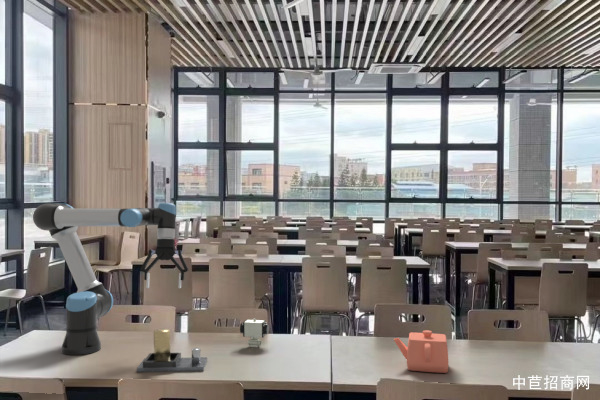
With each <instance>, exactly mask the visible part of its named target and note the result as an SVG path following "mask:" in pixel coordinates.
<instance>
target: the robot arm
mask: <svg viewBox="0 0 600 400" xmlns="http://www.w3.org/2000/svg"><path fill="white" fill-rule="evenodd" d="M176 207H177V206H176V205H175V204H174V203H169V202H162V203H159V204H158V206H157V207H154V208H152V207H135V208H134V207H133V208H84V207H83V208H78V207H76V208H74V207H73V206H71V205H70V204H67V203H63V202H57V203H54V202H53V203H43V204H40V205H39V206H37V207H36V208H35V210H34V212H32V213H33V214H32V221H33V223H34V225H35V226H36V227H37V228H38V229H40V230H43V231H48V232H49V235H50V237H51V238H52V239H55V240H56V241H57V244H58V247H59V248H60V250H61V253H62V255H63V257H64V259H65V262H66V264H67V267H68V270H69V271H70V274H71V276H72V279H73V281H74V283H75V285H76V288H77V291H76V292H73V293H72V294H70V295H68V296H67V298H66V304H65V311H66V312H65V316H66V317H65V318H66V320H65V323H66V326H65V327H66V329H65V330H66V332H65V333H66V334H65V336H64V338H63V342H62V345H61V353H62V354H63V355H69V356H79V355H81V356H82V355H88V354H93V353H96V352H98V351H100V350H101V349H102V348H101V346H102V344H101V342H102V341H101V340H100V336H99V334H98V330H97V319H99V318H102V317H103V316H106V315H107V314H108V313H109V312H110V311H111V309H112V307H113V305H114V297H113V295H112V292H110V291H109V290H107V289H106V288H105V286H104V285H103V283H102V282H100V281H98V279H97V278H96V274H95V273H94V270H93V267H92V266H91V263H90V261H89V259H88V256H87V254H86V251H85V249H84V247H83V245H82V242H81V240H80V238H79V235H78V233H77V231H78V230H79V227H125V228H127V227H128V228H135V227H141V226H157V232H156V234H157V235H156V238H157V239H156V249H155V250H154V249H148V254H147V256H146V258H145V260H144V262H143V263H142V265H141V267H140V269H139V270H140V271H141V272H143V273H144V275H143V276H144V277H143V279H144V280H143V281H146V282H145V283H146V285H145V288H146V289H150V284H151V282H150V280H151V272H149V271H151V269H152V268H153V267H154V266H155V265H156V264H158V262H159V261H171V262H172V263H173V264H174V265H175V267H176V268H177V269H178V270H179V271H180V272H179V273H178V289H181V288H182V281H184V280H185V274H186V273H187V272H189V271H190V269H189V267H188V265H187V263H186V261H185V259H184V257H183V251H182V250H180V249H178V250H175V244H176V242H175V237H176V221H177V220H176V217H177V216H176V215H177V213H176V212H177V209H176ZM154 255H156V257H155V258H154V259H153V260H152V262H150V260H151V258H152V257H153V256H154ZM175 255H177V256H178V258H179V260H180V262H181V264H182V266H181V265H180V264H179V262H178V261H177V260H176V258H175V257H174V256H175ZM149 262H150V263H149ZM148 264H149V265H148ZM147 265H148V266H147Z"/></svg>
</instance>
